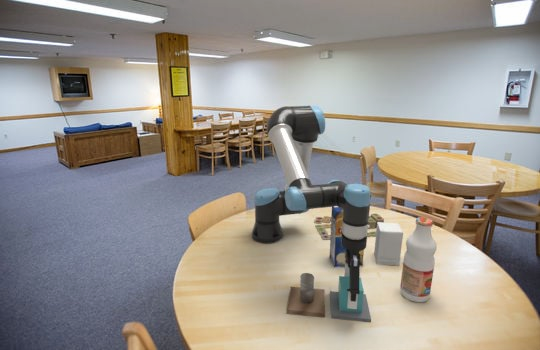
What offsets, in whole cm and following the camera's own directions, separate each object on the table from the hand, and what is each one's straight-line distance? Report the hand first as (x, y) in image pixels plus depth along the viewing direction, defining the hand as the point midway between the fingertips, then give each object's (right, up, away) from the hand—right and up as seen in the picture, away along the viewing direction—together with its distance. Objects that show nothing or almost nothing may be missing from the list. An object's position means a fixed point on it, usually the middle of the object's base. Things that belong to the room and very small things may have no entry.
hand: (349, 293), depth 99 cm
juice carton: (+5, +2, +28) cm, 28 cm away
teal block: (0, -4, +1) cm, 4 cm away
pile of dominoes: (+15, +11, +61) cm, 64 cm away
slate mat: (0, -5, +1) cm, 5 cm away
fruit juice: (+24, -3, +7) cm, 26 cm away
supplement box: (+23, +3, +29) cm, 37 cm away
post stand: (-14, -4, +3) cm, 15 cm away
